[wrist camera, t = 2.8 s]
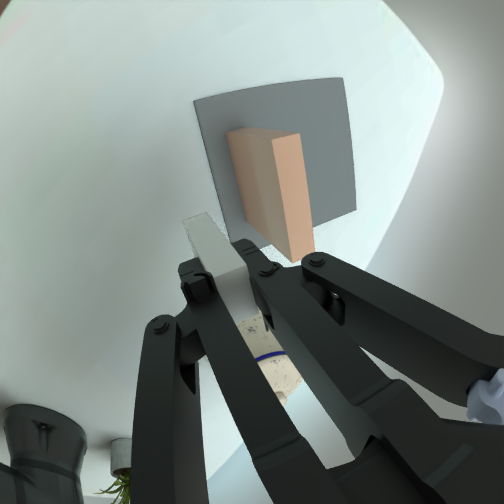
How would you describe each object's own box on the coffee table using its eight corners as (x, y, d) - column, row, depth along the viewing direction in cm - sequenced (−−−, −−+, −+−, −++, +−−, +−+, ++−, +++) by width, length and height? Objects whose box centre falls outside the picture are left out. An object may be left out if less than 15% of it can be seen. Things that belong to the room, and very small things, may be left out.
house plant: (63, 433, 31) (72, 520, 18) (128, 414, 34) (151, 512, 21) (111, 462, 39) (128, 533, 25) (170, 446, 42) (197, 521, 28)
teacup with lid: (233, 367, 38) (268, 434, 28) (187, 340, 32) (217, 420, 23) (298, 310, 37) (350, 369, 28) (262, 272, 32) (319, 339, 23)
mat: (234, 256, 30) (235, 258, 30) (193, 101, 22) (194, 100, 21) (354, 208, 34) (356, 209, 33) (340, 77, 25) (342, 77, 25)
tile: (246, 221, 28) (292, 263, 21) (225, 132, 24) (271, 139, 16) (265, 214, 29) (316, 252, 21) (247, 126, 24) (300, 132, 17)
